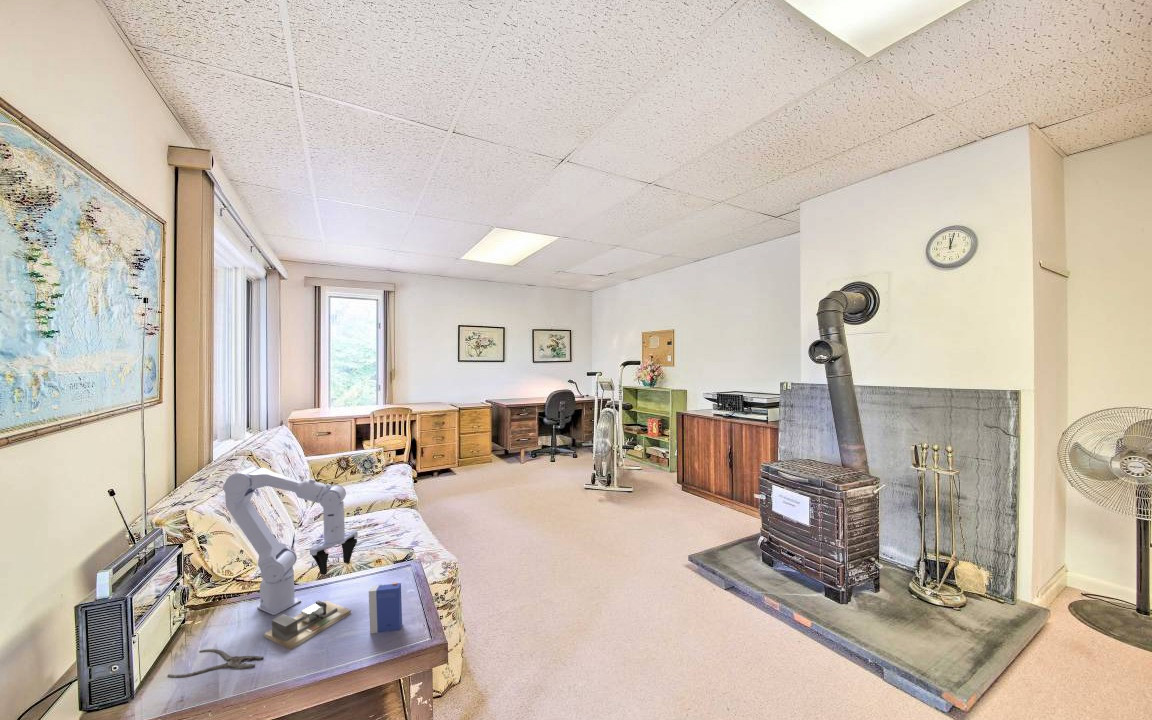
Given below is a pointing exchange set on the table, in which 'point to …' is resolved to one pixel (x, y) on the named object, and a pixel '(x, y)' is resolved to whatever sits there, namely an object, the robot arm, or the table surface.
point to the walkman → (385, 608)
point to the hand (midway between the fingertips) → (335, 568)
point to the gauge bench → (303, 626)
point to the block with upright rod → (314, 612)
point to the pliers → (233, 663)
